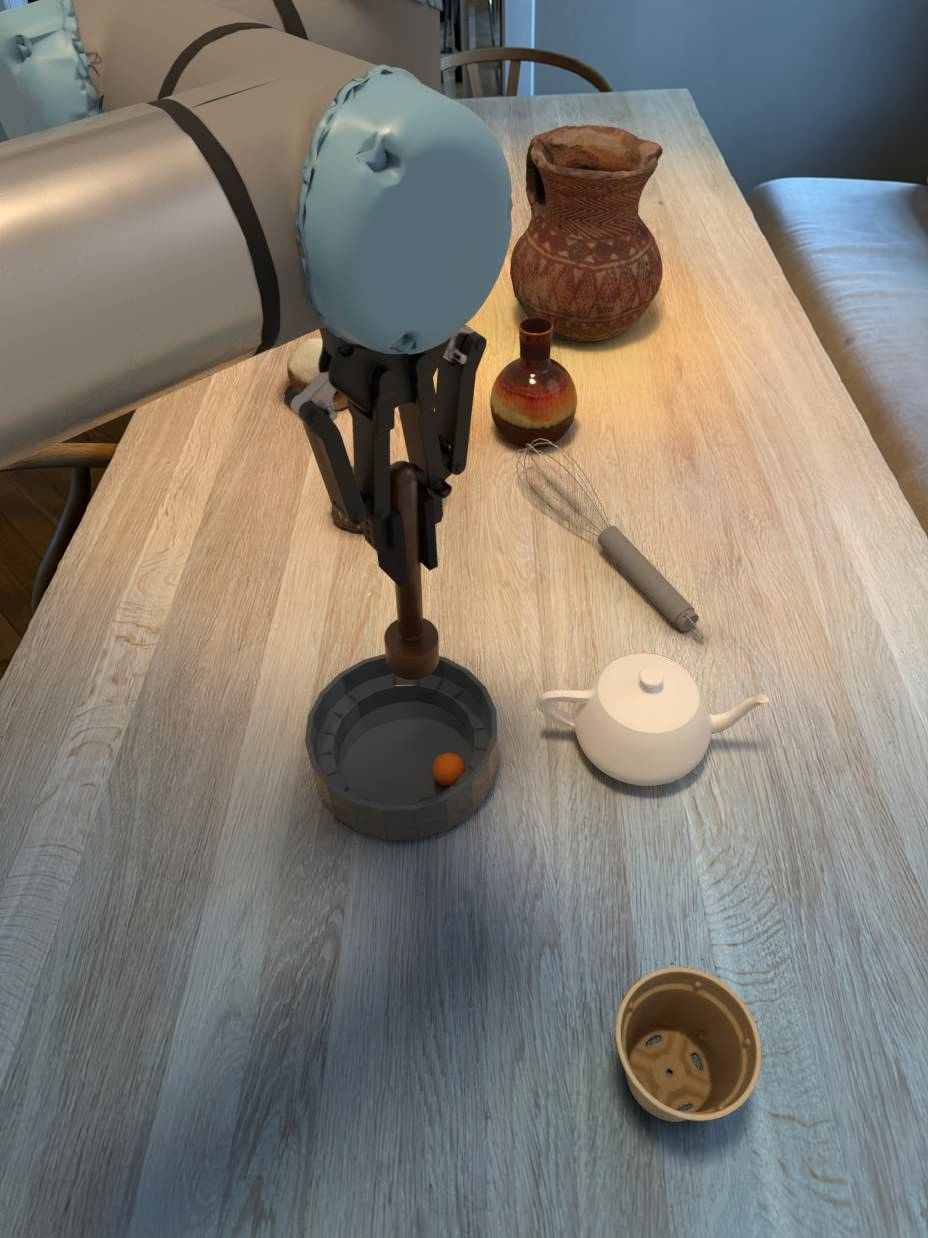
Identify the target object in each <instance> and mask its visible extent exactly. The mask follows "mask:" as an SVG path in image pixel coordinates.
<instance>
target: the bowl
mask: <svg viewBox="0 0 928 1238" xmlns="http://www.w3.org/2000/svg"><path fill="white" fill-rule="evenodd" d="M306 720H307V721H306V730H305V736H304V743H305V746H306V750H307V754H308V758H309V762H310V765H311V769H312V772H313V776H314V779H315V783H316V787H317V789H318V793H319V796H320V798H321V799H322V800H323V802H324V803H325V804H326V805H327V807H328V809H329V810H330V811H331V812H332V814H333V815H334V817H335V818H337V819H338V820H339V821H341V822H343V823H344V824H346V825H347V826H349V827H350V828H352V829H354V830H355V831H357V832H358V833H360V834H363V835H368V836H372V837H374V838H379V839H382V840H386V841H404V840H405V841H406V840H410V841H411V840H421V839H424V838H427V837H431V836H434V835H437V834H440V833H443V832H446V831H449V830H450V829H452V828H453V827H455V826H456V825H458V824H459V823H460V822H462V821H463V820H465V819H466V818H468V817H469V816H471V815H472V814H474V812H475V811H476V809H478V807H479V805H480V804H481V803H482V802H483V800H484V799H485V798H486V797H487V795H488V794H489V793H490V791H491V789H492V786H493V782H494V779H495V776H496V773H497V771H498V766H499V757H498V756H499V746H498V745H499V734H498V733H499V732H498V713H497V708H496V706H495V704H494V701H493V699H492V697H491V695H490V693H489V690H488V688H487V687H486V686H485V685H484V684H483V682H481V680H480V679H479V678H477V676H476V675H474V673H473V672H471V670H469V669H468V668H467V667H464V666H463V665H461V664H459V663H457V662H456V661H453V660H452V659H450V658H447V657H445V656H441V655H439V662H438V665H437V667H436V669H435V670H434V671H433V672H432V673H431V674H430V675H428V676H426V677H424V678H422V679H417V680H406V679H402V678H400V677H398V676H396V675H394V674H393V673H392V672H391V671H390V669H389V668H388V666H387V662H386V653H381V654H378V655H376V656H372V657H368V658H365V659H362V660H360V661H358V662H357V663H355V664H353V665H351V666H350V667H347V668H346V669H344V670H343V671H341V672H339V673H338V674H337V675H336V676H335V677H334V678H333V679H331V681H330V682H329V683H328V684H327V685H326V686H324V688H323V689H322V690H321V691H320V692H319V694H318V696H317V697H316V699H315V701H314V703H313V705H312V708H311V709H310V710H309V713H308V715H307V719H306ZM444 753H453V754H456V755H458V756H459V757H460V758H461V759H462V760H463V762H464V764H465V772H464V773H463V774H462V776H461V777H460V778H459V779H458V780H457V782H456V783H455V784H454V785H452V786H443V785H441V784H439V783H438V782H437V781H436V780H435V778H434V776H433V773H432V766H433V763H434V761H435V759H436V758H437V757H438V756H440V755H441V754H444Z"/></svg>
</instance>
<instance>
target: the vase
mask: <svg viewBox="0 0 928 1238" xmlns="http://www.w3.org/2000/svg"><path fill="white" fill-rule="evenodd" d="M552 334H553V323H552V322H551V321H550V320H549V319H547V318H544V317H536V316H535V317H526V318H523V319H522V320H521V321H520V322H519V324H518V339H519V357H518V358H516V359H514V360H512V361H510V362H509V363H508V364H507V365H506V366H505V367H503V368H502V370H501V371H500V372H499V373H498V374H497V376H496V378H495V379H494V382H493V385H492V387H491V391H490V399H489V404H490V405H489V406H490V414H491V418H492V421H493V423H494V426H495V428H496V430H497V432H498V433H499V434H500V436H501V437H502V438H503V439H504V440H505V441H507V442H508V443H509V444H511V445H513V446H515V447H518V448H520V449H525V448H526V444H529V445H530V444H531V443H532V441H534V440H537V439H539V438H541V439H545V440H548V441H550V442H551V443H553V444H554V445H556V443H558V442H559V441H561V440H562V439H563V438H564V436H566V434H567V433H568V431H569V430H570V428H571V426H572V424H573V422H574V419H575V416H576V412H577V406H578V394H577V393H578V392H577V389H576V385H575V382H574V380H573V377H572V376H571V374H570V373H569V371H568V370H567V369H566V368H565V367H564V365H562V364H561V363H559V362H558V361H557V360H554V358H551V351H552V350H551V349H552V342H553V336H552ZM541 439H539V440H537V441H534V442H533V443H532V445H531V446H533V445H535V444H537V443H549V442H548V441H545V440H541ZM529 445H527V447H529ZM550 446H552V445H550V444H537V445H535V446H533V448H534V449H536V450H540V449H546V448H549V447H550ZM533 448H530V449H533Z"/></svg>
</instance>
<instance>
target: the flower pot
mask: <svg viewBox="0 0 928 1238" xmlns="http://www.w3.org/2000/svg"><path fill="white" fill-rule="evenodd" d="M615 1023H616V1025H615V1042H616V1047H617V1048H616V1049H617V1053H618V1056H619V1060H620V1062H621V1065H622V1068H623V1069H624V1071H625V1077H626V1082H627V1085H628V1087H629V1090H630V1092H631V1094H632V1096H633V1097H634V1099H635V1100H636V1102H637V1103H638V1104H639V1106H641V1108H642V1109H644V1110H645V1111H646V1112H648V1113H649V1114H650V1115H652V1116H654V1117H656V1118H658V1119H660V1120H663V1121H666V1122H673V1123H679V1122H685V1121H695V1122H705V1121H707V1122H708V1121H712V1120H717V1119H718V1120H719V1119H721V1118H724V1117H726V1116H727V1115H730V1114H732V1113H733V1112H735V1111H736V1110H737V1109H739V1108H740V1107H741V1106H742V1105H743V1104H744V1103H745V1102H746V1101H747V1100H748V1099H749V1098H750V1096H751V1095H752V1093H753V1091H754V1089H755V1088H756V1085H757V1083H758V1080H759V1077H760V1074H761V1071H762V1070H761V1069H762V1058H763V1052H762V1051H763V1049H762V1041H761V1036H760V1033H759V1030H758V1027H757V1024H756V1022H755V1020H754V1017H753V1015H752V1014H751V1012H750V1010H749V1008H748V1007H747V1005H746V1004H745V1003H744V1001H743V1000H742V999H741V998H740V997H739V995H738V994H737V993H736V992H735V991H734V990H733V989H731V987H729V986H728V985H726V983H725V982H723V981H722V980H721V979H719V978H717V977H716V976H714V975H712V974H710V973H707V972H705V971H702V970H700V969H698V968H697V969H696V968H691V967H685V966H673V967H664V968H661V969H658V970H655V971H652V972H650V973H648V974H646V975H644V976H643V977H641V978H640V979H639V980H638V981H636V982H635V983H634V984H633V985H632V986H631V988H630V989H628V991H627V993H626V994H625V995H624V998H623V1000H622V1002H621V1004H620V1006H619V1009H618V1012H617V1017H616V1022H615ZM656 1037H660V1041H659V1042H653V1043H652V1044H650V1045H646V1044H647V1043H648V1042H649V1041H650V1040H652V1039H654V1038H656ZM693 1054H695V1055H696V1056H697V1057H698V1059H699V1062H700V1065H701V1067H702V1069H698V1067H697V1065H696V1063H695V1060H694V1059H693V1057H692V1055H693ZM669 1070H670V1071H671V1075H669V1074H668V1073H667V1072H668V1071H669ZM689 1104H690V1105H691V1107H689V1108H687V1109H685V1110H679V1109H680V1108H682V1107H683V1106H687V1105H689Z"/></svg>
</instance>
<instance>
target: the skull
mask: <svg viewBox="0 0 928 1238" xmlns="http://www.w3.org/2000/svg"><path fill="white" fill-rule="evenodd" d="M321 351H322V337H312V338H308V339H306V340H304V341H302V342H301V343H300V344H298V346H296V348H295V349H294V350H293V352H291V354H290V355H289V357H288V359H287V361H286V371H287V377H288V381H287V382H286V384H285V387H284V389H283V390H284V391H283V393H284V395H285V394H286V393H287V392H288V391H289V390H290V389H293V388H298V389H299V390H301V391H302V392H303V391H304V389H305V388H306V387H307V386H308V385H309V384H310V383H311V382H312V381H313V380H314V379H315V378H316V377H317V376H318V375H319V374H320V372H319V368H318V362H319V358H320V355H321ZM333 400H334V404H335V406H336V410H335V411H338V410H341V409H344V408H348V404H347V398H346V397H345V396H344V395H342V394H341V393H340V392H339V391H338V390H337V391H336V393H335V395H334V398H333Z"/></svg>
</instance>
